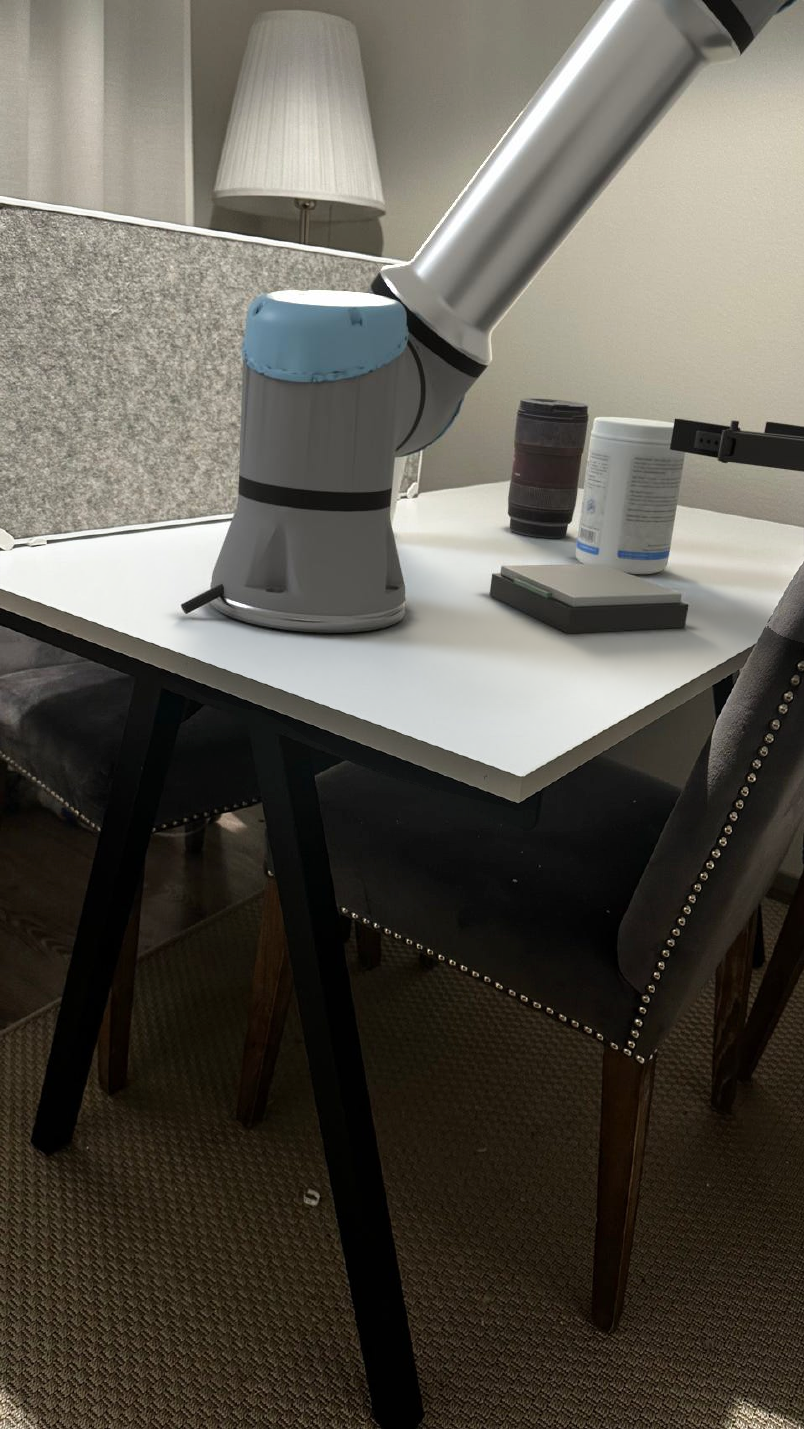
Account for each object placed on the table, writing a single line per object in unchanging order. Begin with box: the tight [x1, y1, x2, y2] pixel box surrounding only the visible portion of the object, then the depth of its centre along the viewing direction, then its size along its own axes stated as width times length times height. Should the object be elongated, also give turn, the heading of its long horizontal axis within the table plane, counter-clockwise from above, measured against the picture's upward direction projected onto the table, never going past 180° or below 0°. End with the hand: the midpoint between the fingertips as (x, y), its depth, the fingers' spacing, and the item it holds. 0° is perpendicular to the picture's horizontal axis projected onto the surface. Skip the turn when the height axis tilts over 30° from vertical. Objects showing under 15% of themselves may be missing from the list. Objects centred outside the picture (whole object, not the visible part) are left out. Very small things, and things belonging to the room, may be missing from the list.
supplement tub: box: [575, 416, 686, 575], centre depth 112 cm, size 10×10×15 cm
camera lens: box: [507, 397, 590, 539], centre depth 126 cm, size 8×8×15 cm
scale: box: [489, 563, 690, 634], centre depth 93 cm, size 12×12×3 cm
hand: (721, 435), depth 102 cm, fingers open, 13 cm apart
